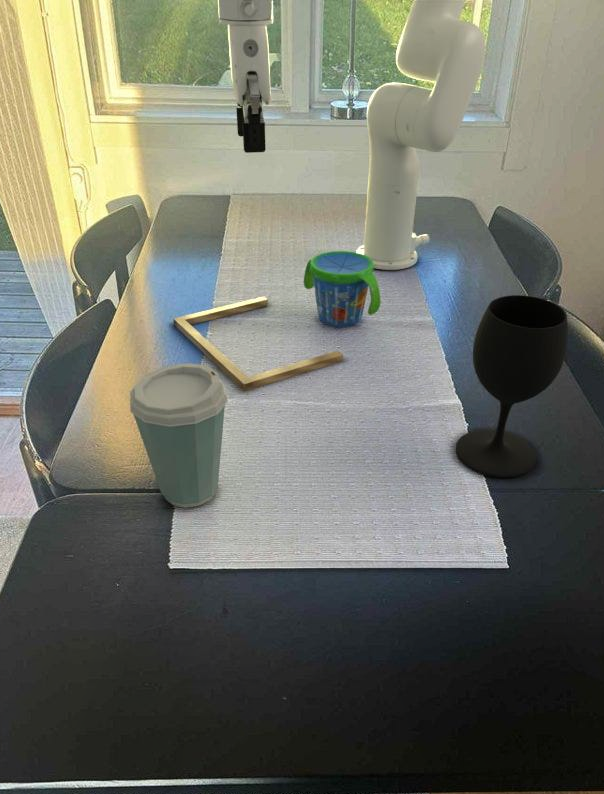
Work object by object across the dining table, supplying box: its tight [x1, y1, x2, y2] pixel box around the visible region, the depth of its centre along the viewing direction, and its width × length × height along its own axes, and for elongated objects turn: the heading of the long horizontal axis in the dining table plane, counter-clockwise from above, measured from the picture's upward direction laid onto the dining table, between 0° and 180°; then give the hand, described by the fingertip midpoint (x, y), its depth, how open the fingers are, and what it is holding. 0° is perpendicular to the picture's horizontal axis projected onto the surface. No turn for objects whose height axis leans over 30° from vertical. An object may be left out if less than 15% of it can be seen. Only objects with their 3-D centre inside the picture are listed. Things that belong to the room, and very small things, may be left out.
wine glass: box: [454, 294, 569, 479], centre depth 85 cm, size 10×10×20 cm
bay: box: [172, 296, 344, 392], centre depth 114 cm, size 18×25×1 cm
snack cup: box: [303, 250, 381, 328], centre depth 118 cm, size 16×10×10 cm
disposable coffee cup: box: [129, 362, 229, 509], centre depth 80 cm, size 11×11×15 cm
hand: (251, 143), depth 108 cm, fingers open, 9 cm apart
